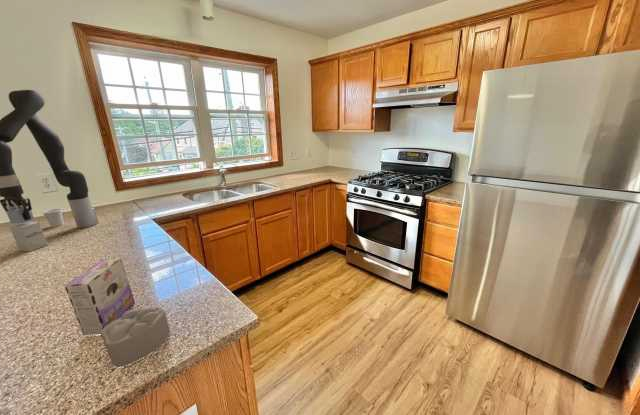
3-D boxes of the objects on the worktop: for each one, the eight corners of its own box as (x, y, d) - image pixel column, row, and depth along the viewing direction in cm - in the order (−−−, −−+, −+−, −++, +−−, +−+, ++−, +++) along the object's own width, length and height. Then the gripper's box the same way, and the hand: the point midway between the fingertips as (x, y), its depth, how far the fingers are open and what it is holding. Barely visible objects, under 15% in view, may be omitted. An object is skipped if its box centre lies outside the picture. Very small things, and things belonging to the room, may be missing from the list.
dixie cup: (65, 226, 159) (59, 210, 156) (46, 229, 155) (40, 213, 152) (68, 222, 166) (62, 207, 163) (50, 225, 162) (44, 210, 158)
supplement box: (30, 251, 126) (20, 227, 122) (19, 251, 127) (8, 226, 123) (48, 245, 133) (39, 221, 129) (37, 244, 134) (28, 221, 130)
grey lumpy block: (106, 350, 66) (96, 322, 63) (162, 321, 75) (155, 296, 73) (117, 374, 59) (106, 344, 57) (177, 339, 69) (169, 311, 66)
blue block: (24, 219, 128) (20, 207, 127) (34, 219, 128) (29, 207, 126) (11, 223, 123) (5, 211, 121) (20, 223, 123) (15, 211, 121)
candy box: (116, 304, 84) (101, 258, 79) (136, 303, 84) (122, 257, 79) (83, 338, 70) (62, 285, 65) (106, 335, 71) (87, 283, 66)
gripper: (30, 183, 123) (44, 217, 128) (5, 183, 125) (19, 217, 130) (11, 186, 116) (25, 222, 121) (-16, 187, 118) (0, 222, 123)
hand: (22, 219), depth 125 cm, fingers closed on blue block, 5 cm apart
